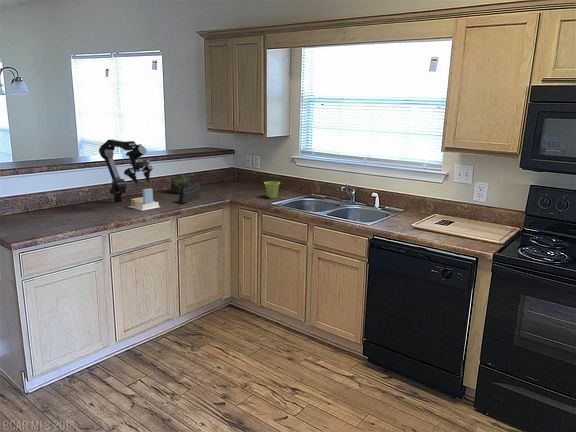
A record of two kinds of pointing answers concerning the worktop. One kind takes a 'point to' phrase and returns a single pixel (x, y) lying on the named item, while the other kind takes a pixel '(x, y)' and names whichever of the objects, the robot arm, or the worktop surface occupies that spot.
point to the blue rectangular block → (147, 196)
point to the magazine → (190, 193)
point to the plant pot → (272, 189)
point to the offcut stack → (136, 202)
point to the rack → (146, 206)
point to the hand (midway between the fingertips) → (143, 182)
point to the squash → (179, 183)
